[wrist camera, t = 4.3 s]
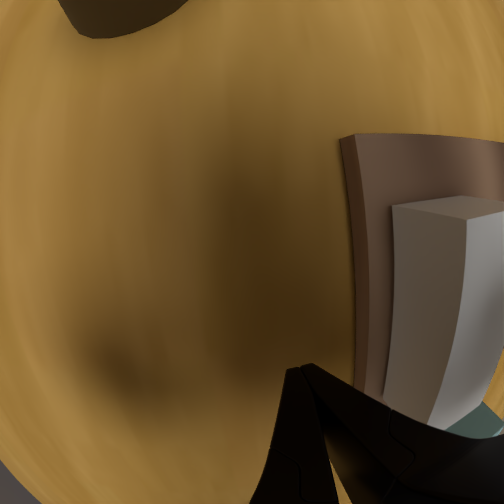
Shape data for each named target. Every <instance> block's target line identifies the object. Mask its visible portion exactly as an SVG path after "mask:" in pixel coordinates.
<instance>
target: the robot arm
mask: <svg viewBox="0 0 504 504" xmlns="http://www.w3.org/2000/svg"><path fill="white" fill-rule="evenodd" d="M329 459H330V461H331V463H332V465H333V467H334V469H335V471H336V473H337V475H338V477H339V479H340V481H341V483H342V485H343V487H344V489H345V491H346V492H347V494H348V496H349V498H350V500H351V502H352V504H504V434H502V435H498V436H494V437H489V438H482V439H480V438H469V437H465V436H461V435H458V434H454V433H451V432H448V431H445V430H442V429H438V428H435V427H432V426H430V425H427V424H424V423H422V422H419V421H417V420H414V419H412V418H410V417H408V416H406V415H404V414H402V413H400V412H398V411H396V410H394V409H392V410H391V408H390V407H388V406H386V405H384V404H383V403H381V402H379V401H377V400H375V399H373V398H372V397H370V396H368V395H366V394H364V393H363V392H361V391H359V390H357V389H356V388H354V387H352V386H350V385H349V384H347V383H345V382H344V381H342V380H340V379H338V378H337V377H335V376H333V375H332V374H330V373H328V372H327V371H325V370H323V369H322V368H320V367H319V366H317V365H315V364H314V363H309V364H305V365H302V366H300V367H294V368H289V369H287V370H286V374H285V379H284V384H283V389H282V394H281V399H280V404H279V409H278V413H277V418H276V422H275V427H274V431H273V436H272V440H271V444H270V449H269V452H268V456H267V460H266V463H265V467H264V470H263V473H262V476H261V478H260V481H259V483H258V485H257V488H256V490H255V492H254V494H253V496H252V498H251V500H250V502H249V504H339V503H338V502H339V500H338V495H337V491H336V487H335V482H334V478H333V474H332V469H331V465H330V461H329Z"/></svg>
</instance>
